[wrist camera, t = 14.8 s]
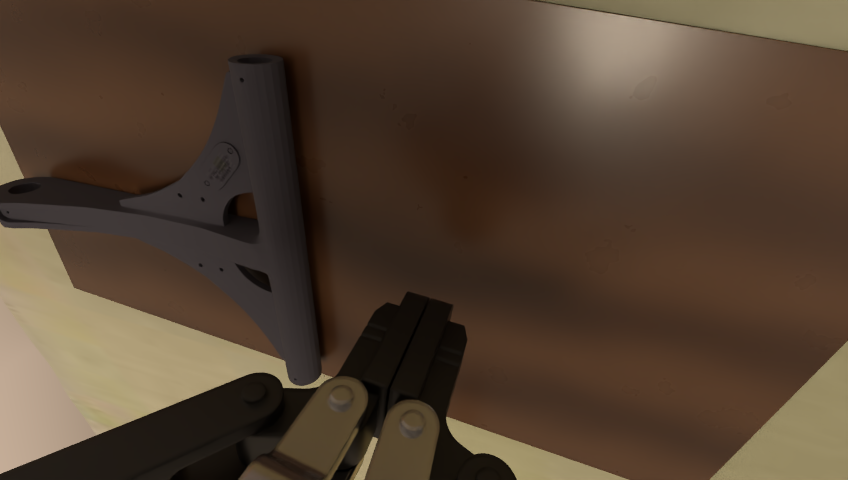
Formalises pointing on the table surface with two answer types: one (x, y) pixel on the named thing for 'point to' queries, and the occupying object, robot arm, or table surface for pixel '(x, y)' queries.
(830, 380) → the table surface
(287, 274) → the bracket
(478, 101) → the board
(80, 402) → the table surface
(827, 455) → the table surface
